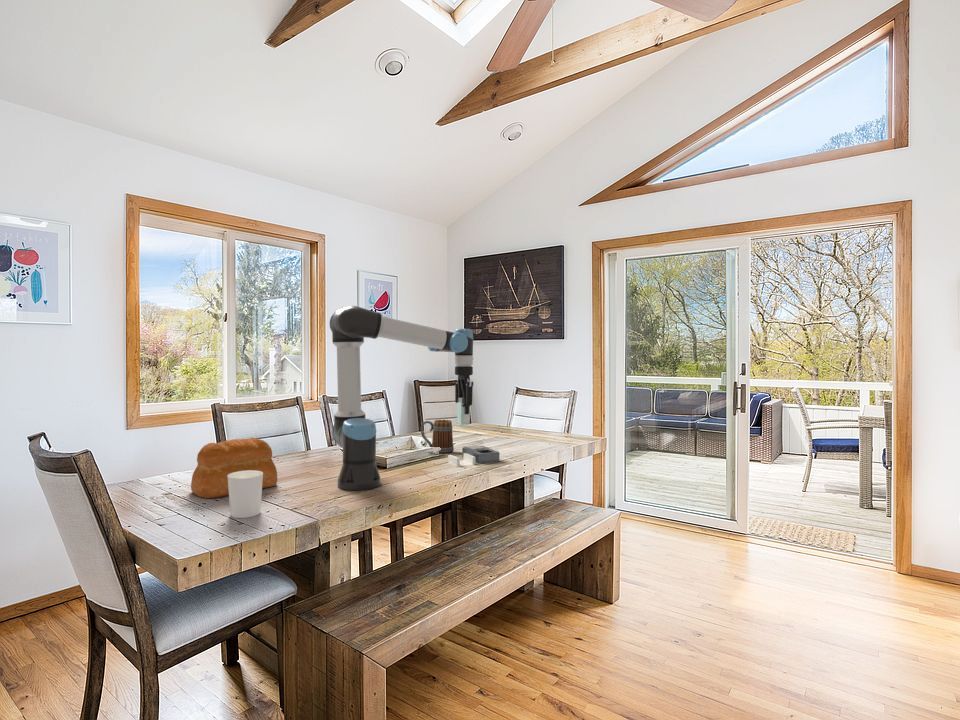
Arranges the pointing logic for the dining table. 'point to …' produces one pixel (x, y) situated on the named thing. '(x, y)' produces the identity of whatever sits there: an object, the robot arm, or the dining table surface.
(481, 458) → the port panel
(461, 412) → the plug
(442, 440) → the mug
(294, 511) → the dining table surface
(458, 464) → the holster
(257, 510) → the candle holder
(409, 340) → the robot arm
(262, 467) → the bread
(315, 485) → the dining table surface
